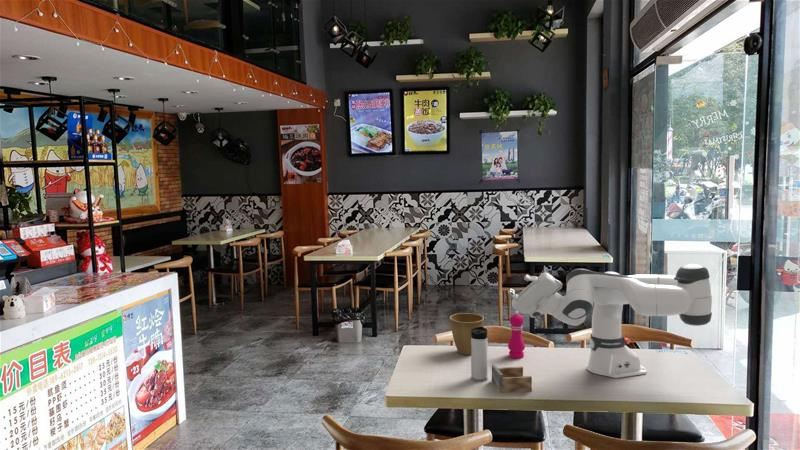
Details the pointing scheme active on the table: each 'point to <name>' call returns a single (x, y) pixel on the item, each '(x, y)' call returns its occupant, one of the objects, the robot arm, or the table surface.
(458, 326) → the plant pot
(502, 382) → the cradle
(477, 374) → the travel mug
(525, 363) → the table surface
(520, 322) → the pepper mill
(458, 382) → the table surface
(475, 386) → the table surface
